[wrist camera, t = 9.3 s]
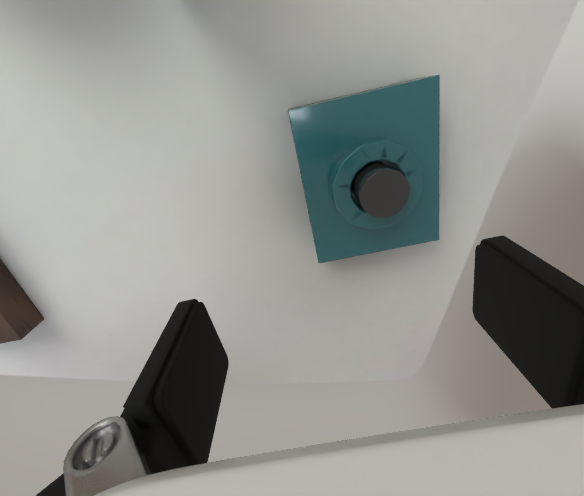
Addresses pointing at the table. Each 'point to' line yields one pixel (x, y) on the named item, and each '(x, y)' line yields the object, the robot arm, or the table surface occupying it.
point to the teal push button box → (362, 153)
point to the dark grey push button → (381, 190)
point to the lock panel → (15, 309)
